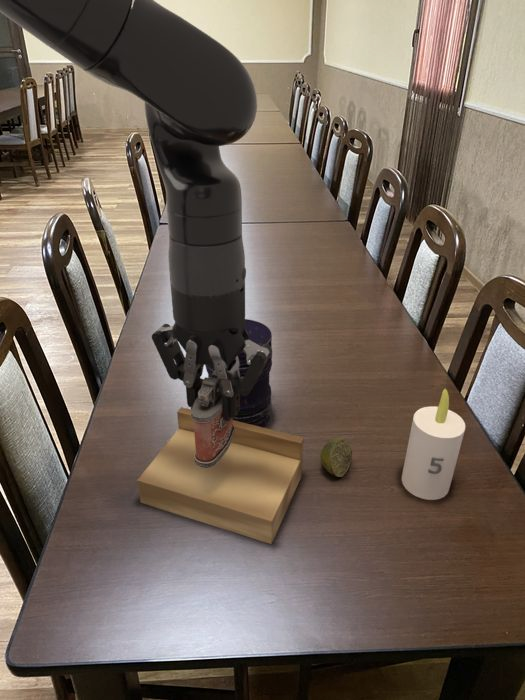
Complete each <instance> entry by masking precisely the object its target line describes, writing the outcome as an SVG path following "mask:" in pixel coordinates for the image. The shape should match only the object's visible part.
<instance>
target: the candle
mask: <svg viewBox="0 0 525 700" xmlns="http://www.w3.org/2000/svg"><path fill="white" fill-rule="evenodd" d="M449 407H450V396H449V392H448V389H446V388H444V389H443V390H442V393H441V396H440V400H439V403H438V406H423V407H421V408H419V409H418V410H416V411H415V413H414V414H413V416H412V423H411V429H410V432H409V436H408V437H409V438H408V443H407V448H406V453H405V457H404V458H405V459H404V463H403V468H402V473H401V483H402V485H403V487H404V488H405V490H406V491H407V492H408V493H409V494H411V495H413V496H414V497H417V498H419V499H422V500H427V501H437V500H440V499H443V498H444V497H446V496H447V495H448V494H449V491H450V488H451V485H452V480H453V476H454V473H455V470H456V465H457V462H458V458H459V453H460V450H461V446H462V443H463V440H464V435H465V432H466V423H465V421H464V419H463V418H462V417H461V416H460V415H459V414H457V413H456V412H455V411H453V410H450V409H449Z"/></svg>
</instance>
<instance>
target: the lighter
mask: <svg viewBox="0 0 525 700" xmlns="http://www.w3.org/2000/svg"><path fill="white" fill-rule="evenodd" d="M203 379H204V380H203V382H202V386H201V389H200V390H199V392H198V397H197V399H196V400H195V402H194V404H193V407H192V409H191V408H190V409H191V417H192V419H193V420H194V434H195V448H196V452H195V456H194V458H195V464H196V465H197V466H198V467H201V468H211V467H213V466H215V465H216V464H217V463H218V462H219V461H220V459H221V458H222V457H223V456H224V454H225V453H226V452H227V450H228V449H229V447H230V444H231V442H232V440H233V436H234V433H235V432H234V424H233V418H232V419H231V420H230V422H229V421H225V420H223V408H222V395H223V394H224V392H223V388H222V385H221V381H220V380H218V379H217V375H216V372H215V371H214V372H213V373H212V375H211V376H210V377H209V378H208V376H207V377H204V378H203Z"/></svg>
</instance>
